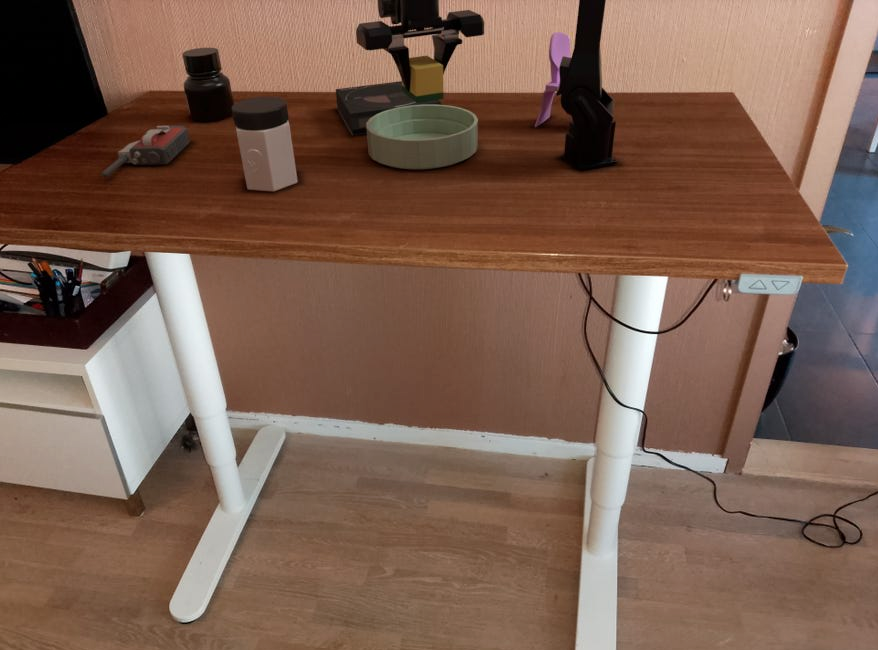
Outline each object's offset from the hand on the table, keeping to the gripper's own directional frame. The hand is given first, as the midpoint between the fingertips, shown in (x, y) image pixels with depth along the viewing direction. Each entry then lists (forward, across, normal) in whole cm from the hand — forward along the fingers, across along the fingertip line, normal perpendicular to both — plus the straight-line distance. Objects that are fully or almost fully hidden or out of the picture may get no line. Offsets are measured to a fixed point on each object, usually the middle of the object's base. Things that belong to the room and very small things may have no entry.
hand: (422, 88), depth 113 cm
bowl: (+11, 0, -2) cm, 11 cm away
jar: (+11, +26, 0) cm, 28 cm away
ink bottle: (+11, +30, -40) cm, 51 cm away
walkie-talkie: (+11, +44, -19) cm, 49 cm away
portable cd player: (+11, 0, -22) cm, 24 cm away
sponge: (+1, 0, 0) cm, 1 cm away
